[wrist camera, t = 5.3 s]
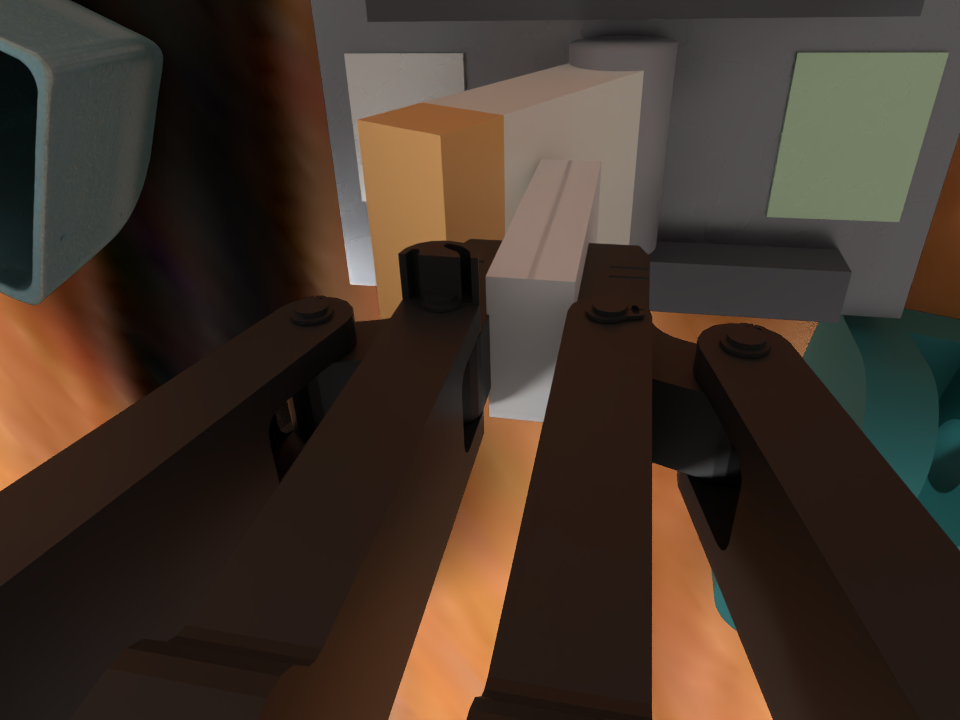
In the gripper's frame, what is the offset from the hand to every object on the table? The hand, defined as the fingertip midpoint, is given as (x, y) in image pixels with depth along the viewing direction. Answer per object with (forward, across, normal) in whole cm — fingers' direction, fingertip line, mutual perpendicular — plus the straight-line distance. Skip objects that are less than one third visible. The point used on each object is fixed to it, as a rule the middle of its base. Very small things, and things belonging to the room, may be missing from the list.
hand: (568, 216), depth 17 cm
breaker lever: (+7, +1, 0) cm, 7 cm away
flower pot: (+11, -20, +1) cm, 23 cm away
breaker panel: (+11, +1, 0) cm, 11 cm away
